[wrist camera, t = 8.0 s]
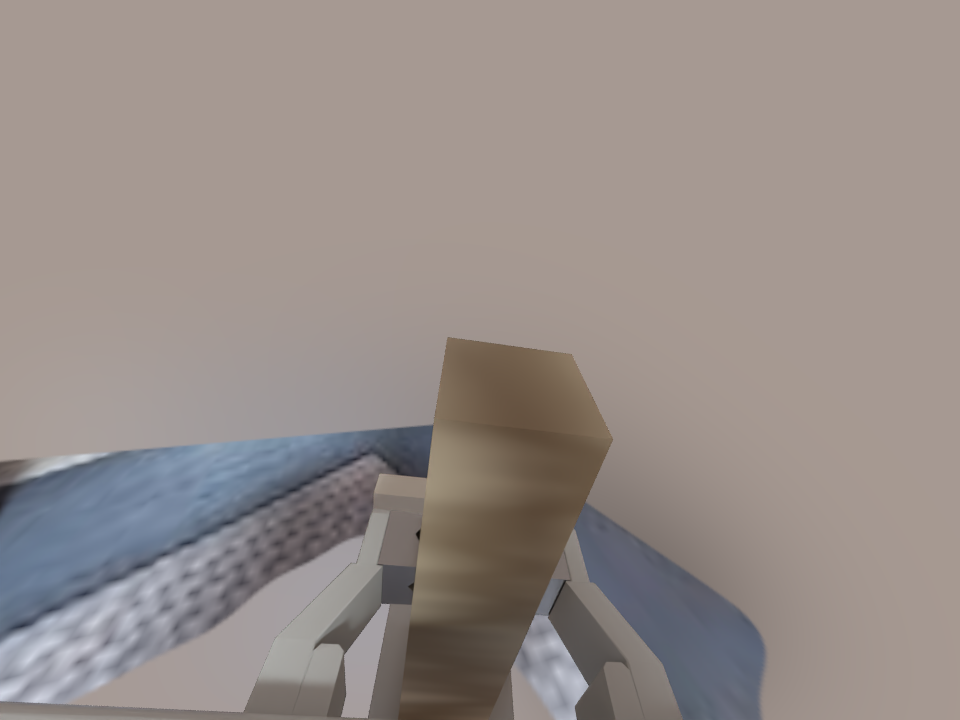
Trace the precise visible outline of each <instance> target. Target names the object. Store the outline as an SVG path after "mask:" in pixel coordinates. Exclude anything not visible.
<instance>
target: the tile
mask: <svg viewBox="0 0 960 720" xmlns="http://www.w3.org/2000/svg"><path fill="white" fill-rule="evenodd" d="M426 483H427V478H420V477H410V476H400V475H390V474H379V477H378V480H377V484H376V487H375V490H374V493H373V509H384V510H393V511H402V512H410V513H419V514H423V508H424V500H425V492H426Z"/></svg>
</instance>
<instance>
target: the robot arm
mask: <svg viewBox="0 0 960 720" xmlns="http://www.w3.org/2000/svg"><path fill="white" fill-rule="evenodd" d="M422 516H423V514H419V513H410V512H402V511H393V510H384V509H373V511H372V513H371V516H370V519H369V523H368V526H367V529H366V533H365V536H364V539H363V543H362V546H361V549H360V553H359V556H358V559H357V563H351V564H350V565H348V566H347V567H346V568H345V570H343V571H342V573H340V574H339V575H338V576H337V578H335V580H333V581H332V582H331V583H330V584H329V585H328V586H327V587H326V588H325V589H324V590H323V591H322V592H321V593H320V594H319V595H318V596H317V597H316V598H315V599H314V600H313V601H312V602H311V603H310V604H309V605H308V606H307V607H306V608H305V609H304V610H303V611H302V612H301V613H300V614H299V615H298V616H297V617H296V618H295V619H294V620H293V621H292V622H291V623H290V624H289V625H288V626H287V627H286V628H285V629H284V630H283V631H282V632H281V633H280V634H279V635H278V636H277V637H276V638H275V640H274V642H273V645H272V647H271V649H270V651H269V654H268V656H267V658H266V661H265V663H264V665H263V668H262V670H261V672H260V675H259V677H258V679H257V682H256V684H255V687H254V689H253V691H252V694H251V696H250V698H249V701H248V703H247V706H246V708H245V710H244V712H243V713H238V712H237V713H236V712H216V711H196V710H174V709H152V708H132V707H109V706H89V705H68V704H47V703H24V702H2V701H0V720H386V719H365V718H344V717H341V714H342V710H343V706H344V701H345V697H346V686H345V667H344V654H345V653H346V652H347V650H348V649H349V648H350V646H351V645H352V644H353V642H354V641H355V640H356V638H357V637H358V636H359V634H360V633H361V632H362V630H363V629H364V628H365V626H366V625H367V624H368V622H369V621H370V620H371V618H372V617H373V616H374V614H375V613H376V612H377V610H378V609H379V608H380V606H381V603H382V604H405V605H412V599H413V591H414V583H415V575H416V566H417V558H418V550H419V541H420V533H421V525H422ZM535 615H545V616H549V617H548V618H549V620H550V621H551V623H552V625H553V626H554V628H555V630H556V631H557V633H558V635H559V636H560V638H561V640H562V641H563V643H564V645H565V647H566V648H567V650H568V652H569V653H570V655H571V657H572V658H573V660H574V662H575V663H576V665H577V667H578V668H579V670H580V672H581V674H582V675H583V677H584V679H585V680H586V682H587V684H588V685H589V687H588V688H587V690H586V691H585V692H584V694H583V695H582V697H581V698H580V699H579V701H578V702H577V704H576V705H575V711H576V717H577V720H683V719H682V716H681V713H680V711H679V708H678V705H677V702H676V700H675V697H674V694H673V692H672V689H671V686H670V683H669V681H668V678H667V675H666V673H665V670H664V667H663V664H662V663H661V662H660V661H659V659H658V658H657V657H656V656H655V655H654V653H653V652H652V651H651V650H650V649H649V648H648V646H647V645H646V644H645V643H644V642H643V640H642V639H641V638H640V637H639V636H638V634H637V633H636V632H635V631H634V630H633V628H632V627H631V626H630V625H629V624H628V623H627V621H626V620H625V619H624V618H623V617H622V615H621V614H620V613H619V612H618V611H617V609H616V608H615V607H614V606H613V605H612V603H611V602H610V601H609V600H608V599H607V598H606V596H605V595H604V594H603V593H602V592H601V590H600V589H599V588H598V587H597V586H596V584H595V583H590V582H589V579H588V575H587V571H586V568H585V564H584V560H583V557H582V553H581V549H580V546H579V542H578V538H577V535H576V531H575V530H574V528H573V531H572V533H571V535H570V537H569V540H568V542H567V544H566V546H565V549H564V551H563V553H562V555H561V558H560V560H559V562H558V564H557V566H556V569H555V571H554V573H553V575H552V578H551V580H550V582H549V584H548V587H547V589H546V591H545V593H544V596H543V598H542V600H541V602H540V605H539V607H538V609H537V611H536V614H535Z"/></svg>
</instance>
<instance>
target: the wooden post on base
mask: <svg viewBox="0 0 960 720" xmlns="http://www.w3.org/2000/svg"><path fill="white" fill-rule="evenodd" d="M612 441H613V438H612V436H611V434H610V432H609V430H608V428H607V426H606V424H605V422H604V420H603V418H602V416H601V414H600V412H599V410H598V408H597V405H596V403H595V401H594V399H593V397H592V395H591V393H590V391H589V389H588V387H587V385H586V383H585V381H584V379H583V377H582V375H581V373H580V371H579V369H578V366H577V364H576V362H575V361H574V358H573V356H572V354H566V353H558V352H551V351H544V350H537V349H529V348H522V347H515V346H507V345H501V344H493V343H486V342H479V341H472V340H465V339H457V338H450V337H448V338H447V345H446V350H445V356H444V362H443V369H442V375H441V381H440V387H439V393H438V400H437V406H436V411H435V417H434V425H433V434H432V442H431V450H430V458H429V467H428V475H427V483H426V492H425V500H424V508H423V516H422V525H421V533H420V541H419V550H418V558H417V566H416V575H415V583H414V591H413V599H412V605H405V604H390V608H389V613H388V618H387V623H386V628H385V633H384V638H383V644H382V649H381V654H380V659H379V664H378V669H377V675H376V680H375V685H374V690H373V695H372V701H371V705H370V710H369V716H368V719H386V720H514V713H513V699H512V683H511V668H512V665H513V663H514V661H515V659H516V656H517V654H518V652H519V650H520V647H521V645H522V643H523V641H524V638H525V636H526V634H527V632H528V629H529V627H530V625H531V623H532V620H533V618H534V616H535V614H536V611H537V609H538V607H539V605H540V602H541V600H542V598H543V596H544V593H545V591H546V589H547V587H548V584H549V582H550V580H551V578H552V575H553V573H554V571H555V569H556V566H557V564H558V562H559V560H560V558H561V555H562V553H563V551H564V549H565V546H566V544H567V542H568V540H569V537H570V535H571V533H572V531H573V528H574V526H575V524H576V522H577V519H578V517H579V515H580V513H581V510H582V508H583V506H584V504H585V501H586V499H587V497H588V495H589V492H590V490H591V488H592V486H593V483H594V481H595V479H596V476H597V474H598V472H599V470H600V467H601V465H602V463H603V461H604V459H605V456H606V454H607V452H608V450H609V447H610V445H611V443H612Z"/></svg>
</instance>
